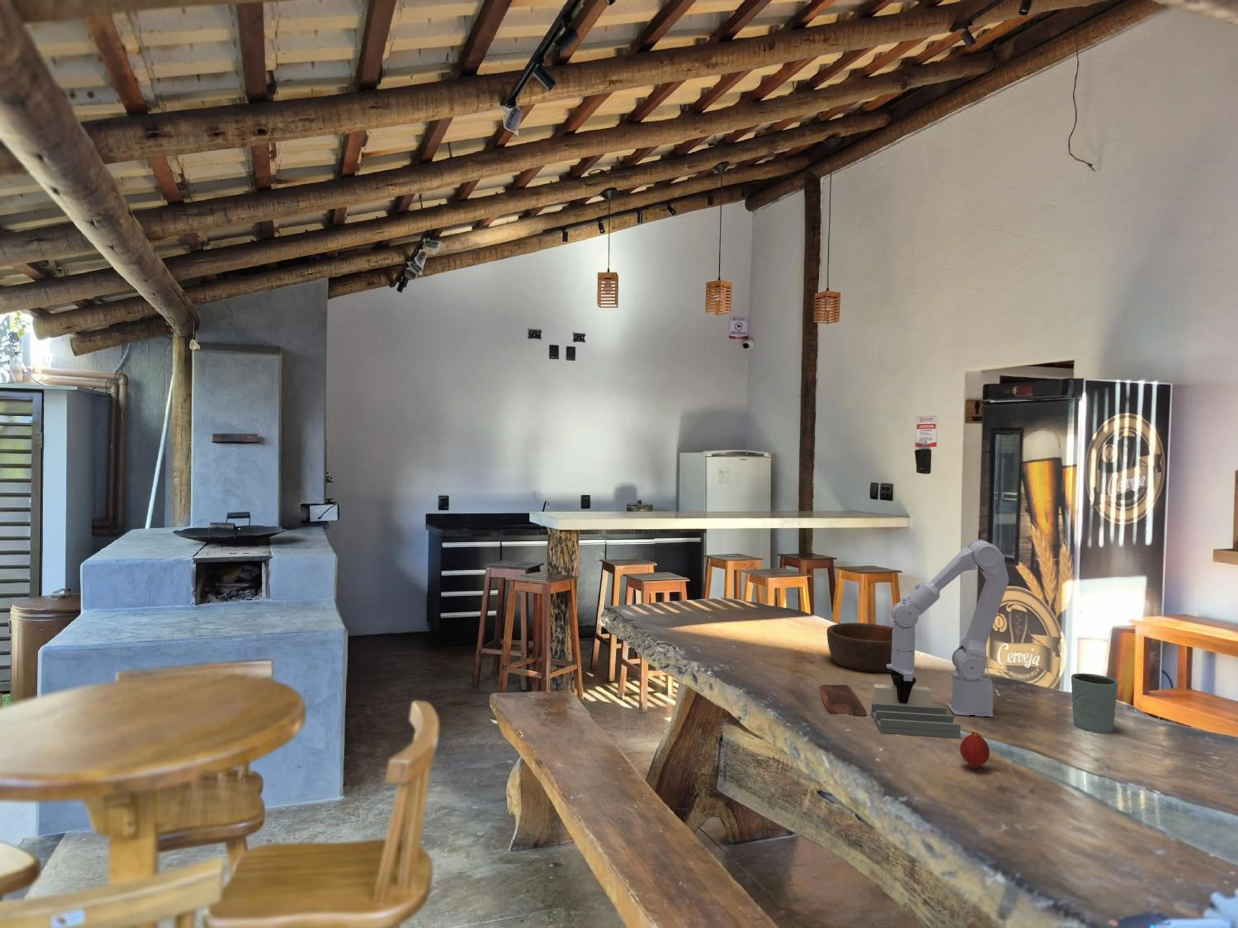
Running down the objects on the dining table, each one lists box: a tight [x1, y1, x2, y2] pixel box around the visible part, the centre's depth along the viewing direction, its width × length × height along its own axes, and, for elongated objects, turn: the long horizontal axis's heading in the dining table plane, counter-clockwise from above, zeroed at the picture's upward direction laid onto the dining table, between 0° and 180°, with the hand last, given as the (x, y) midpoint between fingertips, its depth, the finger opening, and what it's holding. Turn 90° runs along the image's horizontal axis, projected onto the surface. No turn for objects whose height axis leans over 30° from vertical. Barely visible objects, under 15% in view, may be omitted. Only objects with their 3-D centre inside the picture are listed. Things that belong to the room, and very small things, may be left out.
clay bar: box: [872, 683, 932, 706], centre depth 218 cm, size 14×3×5 cm, turn 83°
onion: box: [959, 730, 991, 769], centre depth 178 cm, size 6×6×8 cm
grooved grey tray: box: [870, 702, 962, 739], centre depth 204 cm, size 18×14×3 cm
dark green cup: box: [1070, 672, 1119, 734], centre depth 206 cm, size 10×10×12 cm
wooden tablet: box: [818, 684, 867, 717], centre depth 223 cm, size 26×2×10 cm
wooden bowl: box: [826, 622, 893, 673], centre depth 259 cm, size 25×25×10 cm
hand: (901, 700), depth 218 cm, fingers closed on clay bar, 3 cm apart
